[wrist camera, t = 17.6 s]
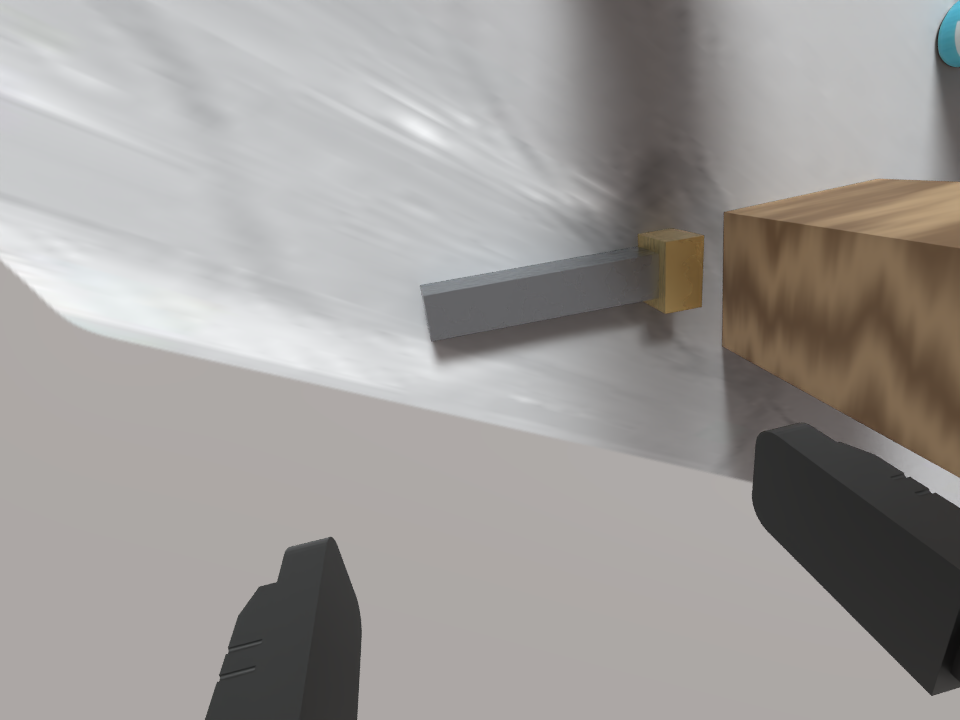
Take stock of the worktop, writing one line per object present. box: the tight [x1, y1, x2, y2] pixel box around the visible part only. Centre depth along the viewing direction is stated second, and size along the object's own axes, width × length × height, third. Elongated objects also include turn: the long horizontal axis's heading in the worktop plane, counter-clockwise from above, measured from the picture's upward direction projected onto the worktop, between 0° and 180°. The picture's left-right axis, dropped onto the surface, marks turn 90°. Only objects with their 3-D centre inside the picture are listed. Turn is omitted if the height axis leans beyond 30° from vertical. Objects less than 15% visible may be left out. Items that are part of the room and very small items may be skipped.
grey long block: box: [420, 228, 704, 341], centre depth 39 cm, size 6×21×4 cm, turn 98°
